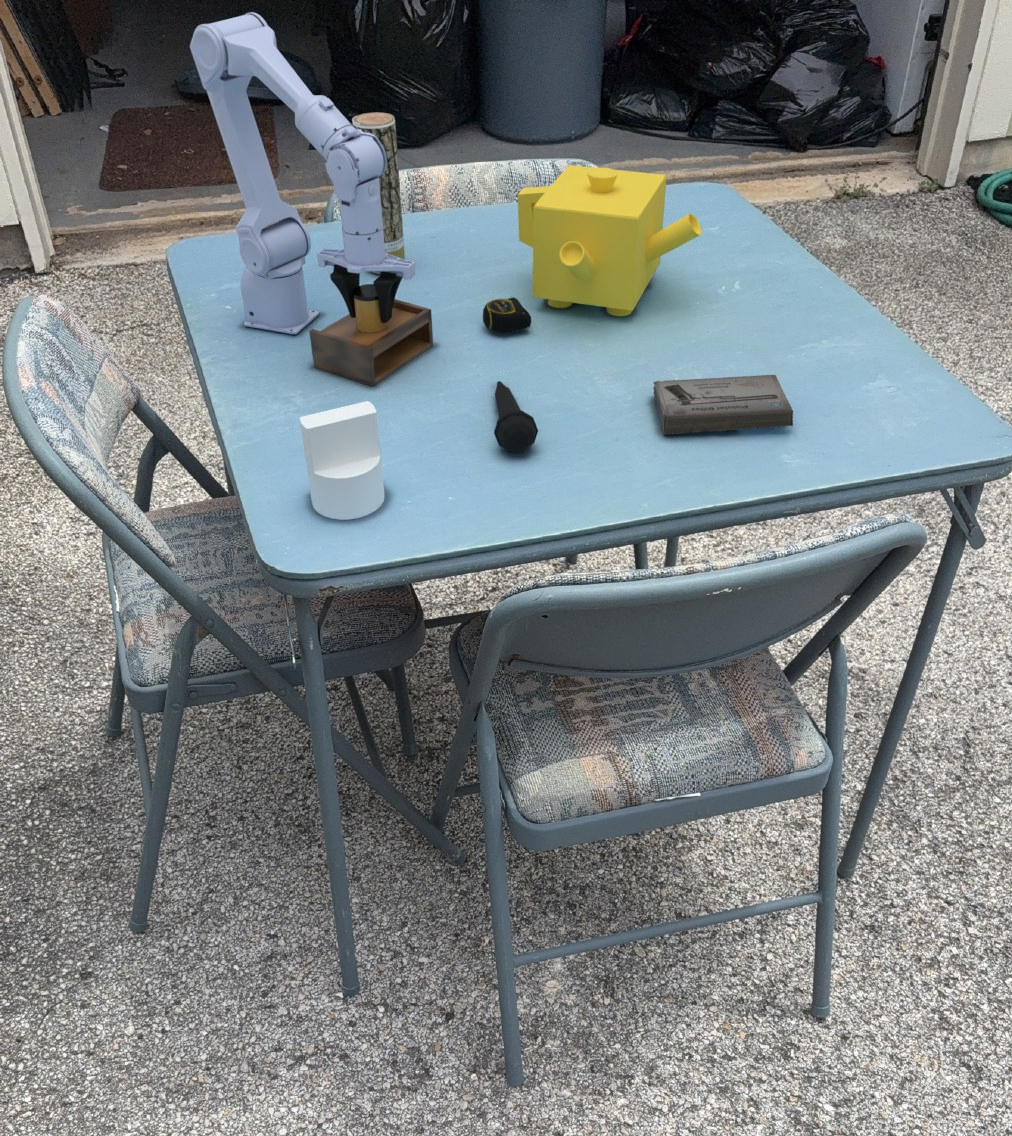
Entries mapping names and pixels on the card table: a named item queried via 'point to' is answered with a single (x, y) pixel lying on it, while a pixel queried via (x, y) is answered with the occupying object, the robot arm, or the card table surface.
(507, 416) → the microphone
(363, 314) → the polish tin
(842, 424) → the card table surface
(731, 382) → the box
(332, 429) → the base with upright slab
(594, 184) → the yellow cubic teapot
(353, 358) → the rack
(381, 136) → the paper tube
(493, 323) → the tape measure
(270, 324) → the robot arm
